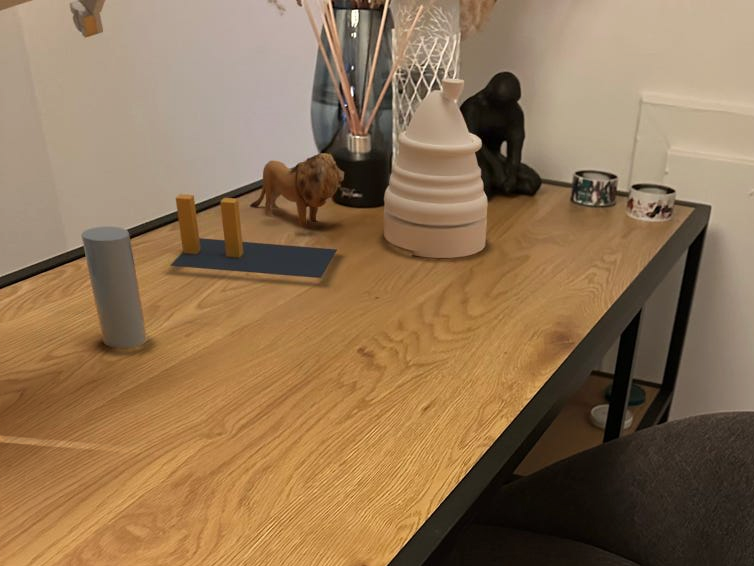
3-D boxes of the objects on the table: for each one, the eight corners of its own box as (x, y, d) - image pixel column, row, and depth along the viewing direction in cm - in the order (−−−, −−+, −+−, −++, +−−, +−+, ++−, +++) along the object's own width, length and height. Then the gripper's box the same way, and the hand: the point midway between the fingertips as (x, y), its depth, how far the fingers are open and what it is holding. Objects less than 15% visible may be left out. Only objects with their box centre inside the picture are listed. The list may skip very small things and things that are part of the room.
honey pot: (505, 242, 120) (517, 81, 108) (442, 265, 112) (448, 93, 100) (427, 219, 125) (431, 63, 114) (362, 239, 117) (359, 74, 106)
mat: (170, 270, 105) (169, 265, 105) (196, 242, 113) (196, 237, 112) (321, 283, 105) (321, 277, 104) (337, 254, 112) (337, 249, 112)
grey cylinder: (97, 348, 88) (73, 238, 82) (112, 332, 91) (91, 224, 85) (139, 352, 88) (119, 242, 82) (153, 336, 91) (135, 228, 85)
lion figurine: (352, 229, 120) (350, 152, 114) (326, 239, 116) (322, 160, 111) (263, 206, 125) (257, 132, 120) (236, 215, 122) (228, 138, 116)
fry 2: (226, 256, 108) (220, 201, 104) (229, 252, 109) (223, 197, 105) (240, 258, 108) (234, 202, 104) (243, 253, 109) (238, 198, 105)
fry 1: (183, 253, 108) (175, 197, 104) (187, 249, 109) (179, 193, 105) (196, 254, 108) (189, 198, 104) (200, 250, 109) (193, 195, 105)
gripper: (98, -226, 62) (131, -18, 75) (-217, -152, 55) (-121, 66, 67) (152, -168, 61) (176, 33, 74) (-161, -84, 54) (-74, 124, 66)
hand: (32, 50), depth 71 cm, fingers open, 8 cm apart
